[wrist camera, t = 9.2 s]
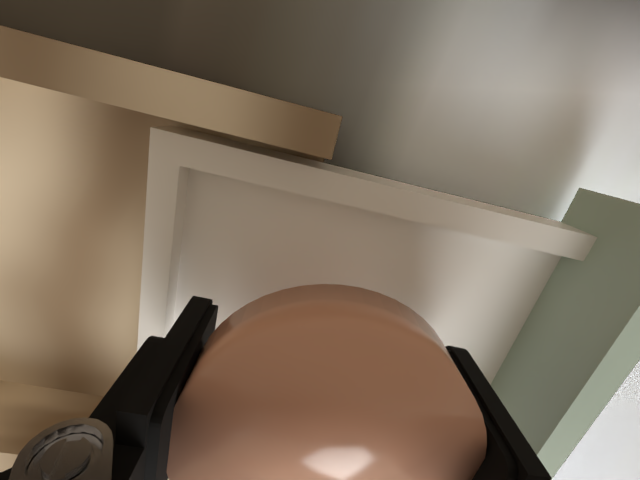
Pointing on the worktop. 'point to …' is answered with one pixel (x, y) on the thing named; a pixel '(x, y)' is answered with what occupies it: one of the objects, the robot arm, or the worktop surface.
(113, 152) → the caddy
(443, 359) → the pink dome
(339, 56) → the worktop surface
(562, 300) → the tray
